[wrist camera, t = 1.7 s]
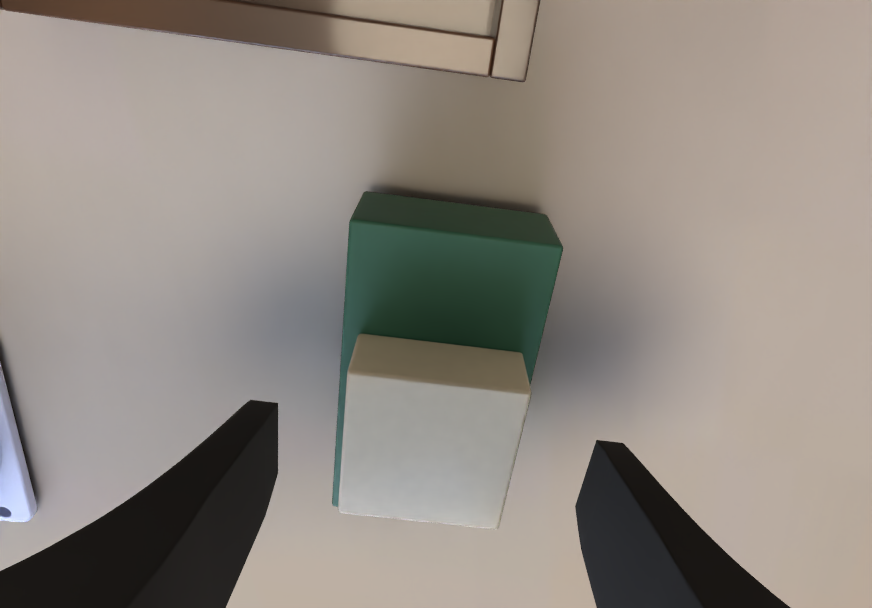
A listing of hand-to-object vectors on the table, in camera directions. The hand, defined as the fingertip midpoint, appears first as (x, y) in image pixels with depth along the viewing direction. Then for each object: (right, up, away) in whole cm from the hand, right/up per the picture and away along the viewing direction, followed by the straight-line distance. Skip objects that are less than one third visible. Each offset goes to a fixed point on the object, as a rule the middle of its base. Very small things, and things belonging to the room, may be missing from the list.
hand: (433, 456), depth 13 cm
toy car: (0, +3, +5) cm, 6 cm away
